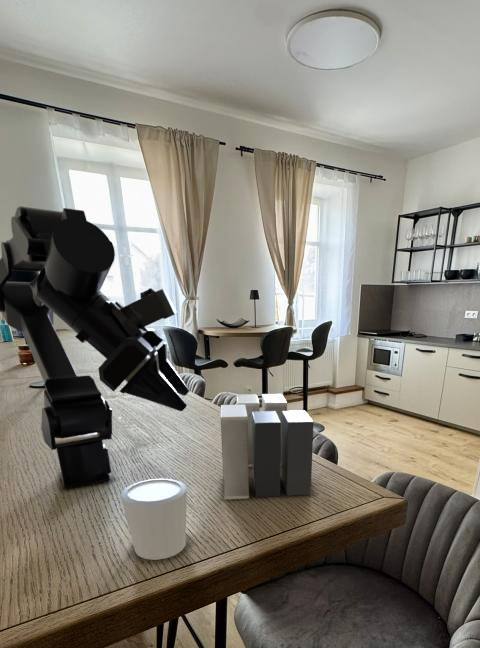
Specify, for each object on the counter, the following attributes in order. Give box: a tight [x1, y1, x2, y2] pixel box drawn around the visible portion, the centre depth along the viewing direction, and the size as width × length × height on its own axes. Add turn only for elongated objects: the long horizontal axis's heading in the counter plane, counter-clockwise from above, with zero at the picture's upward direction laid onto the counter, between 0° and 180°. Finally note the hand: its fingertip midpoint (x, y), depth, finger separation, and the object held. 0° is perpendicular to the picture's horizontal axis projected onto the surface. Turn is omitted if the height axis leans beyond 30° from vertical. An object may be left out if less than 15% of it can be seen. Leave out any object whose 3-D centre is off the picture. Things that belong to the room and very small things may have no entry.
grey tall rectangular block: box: [236, 393, 261, 468], centre depth 71 cm, size 4×7×11 cm, turn 7°
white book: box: [261, 393, 288, 467], centre depth 72 cm, size 4×7×11 cm, turn 7°
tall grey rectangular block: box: [252, 410, 281, 498], centre depth 60 cm, size 4×6×11 cm, turn 7°
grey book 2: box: [280, 410, 315, 497], centre depth 61 cm, size 4×6×11 cm, turn 7°
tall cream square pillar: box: [220, 404, 250, 501], centre depth 59 cm, size 4×7×12 cm, turn 7°
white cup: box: [120, 478, 188, 561], centre depth 46 cm, size 7×7×7 cm
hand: (185, 400), depth 56 cm, fingers open, 9 cm apart
